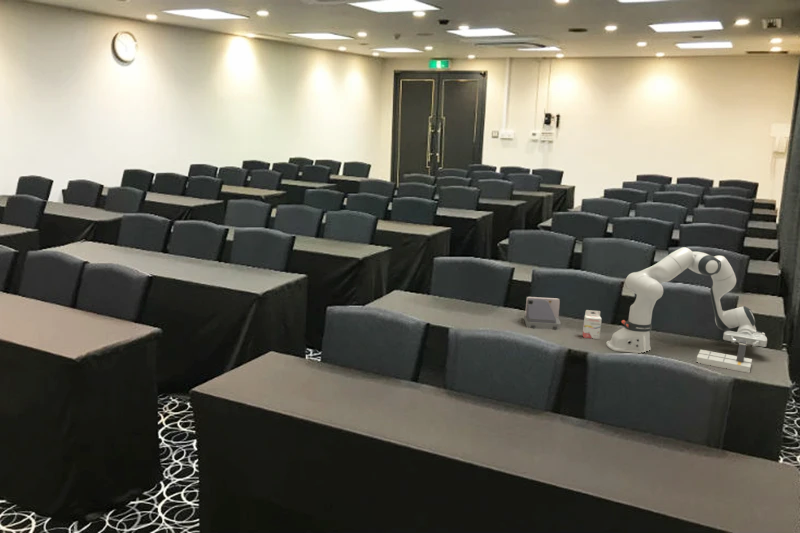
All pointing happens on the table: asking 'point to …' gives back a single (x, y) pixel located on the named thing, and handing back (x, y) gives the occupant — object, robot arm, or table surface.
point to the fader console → (723, 361)
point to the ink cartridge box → (592, 324)
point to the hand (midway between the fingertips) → (743, 342)
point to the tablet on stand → (542, 313)
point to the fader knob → (741, 350)
